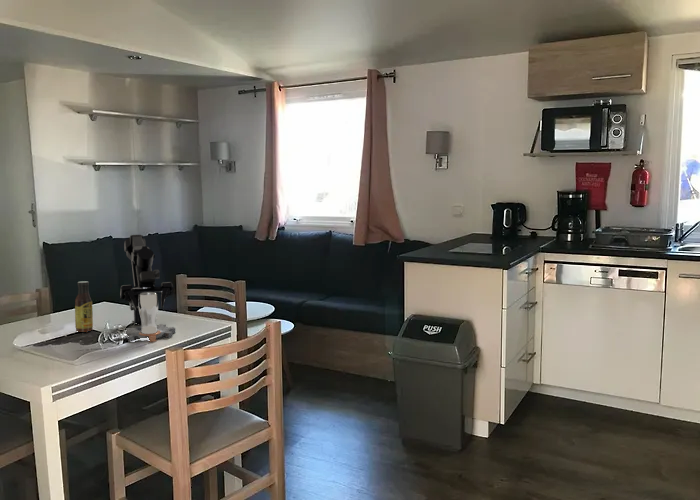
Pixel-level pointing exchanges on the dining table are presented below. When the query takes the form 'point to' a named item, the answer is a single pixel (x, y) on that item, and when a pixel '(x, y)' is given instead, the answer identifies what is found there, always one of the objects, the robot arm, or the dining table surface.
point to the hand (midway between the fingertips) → (149, 308)
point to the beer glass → (148, 312)
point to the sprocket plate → (162, 333)
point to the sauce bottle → (83, 308)
